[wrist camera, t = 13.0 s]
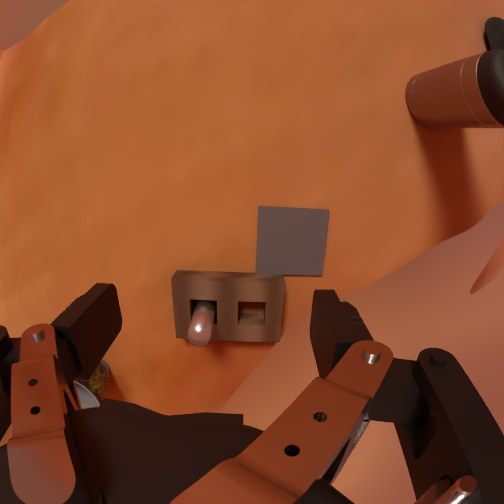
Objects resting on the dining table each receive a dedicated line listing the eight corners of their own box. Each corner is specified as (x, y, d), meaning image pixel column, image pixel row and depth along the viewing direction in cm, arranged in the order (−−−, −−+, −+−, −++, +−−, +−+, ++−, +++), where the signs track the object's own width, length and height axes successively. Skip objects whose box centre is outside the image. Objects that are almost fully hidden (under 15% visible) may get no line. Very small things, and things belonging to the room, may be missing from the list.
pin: (216, 292, 46) (209, 327, 37) (217, 309, 47) (210, 346, 38) (197, 291, 46) (186, 326, 37) (198, 308, 47) (187, 345, 38)
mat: (328, 209, 42) (329, 210, 42) (321, 274, 46) (322, 275, 45) (258, 206, 42) (258, 206, 42) (255, 272, 45) (256, 273, 45)
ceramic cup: (100, 389, 54) (83, 421, 45) (66, 357, 51) (45, 387, 42) (136, 369, 52) (120, 405, 42) (99, 332, 49) (76, 364, 40)
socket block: (282, 273, 46) (285, 283, 42) (277, 329, 49) (279, 342, 45) (176, 270, 45) (171, 279, 42) (180, 326, 48) (176, 337, 45)
